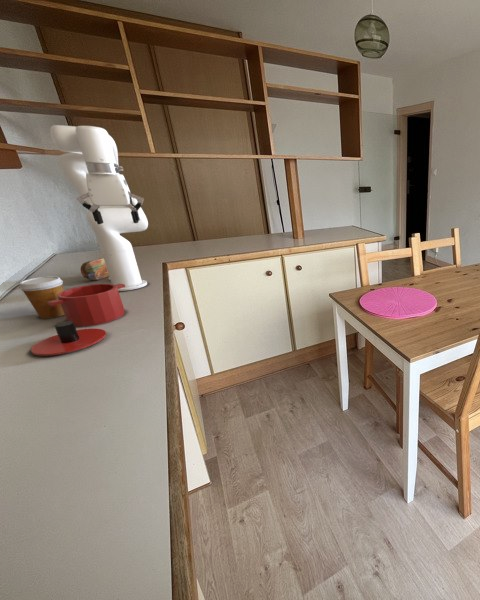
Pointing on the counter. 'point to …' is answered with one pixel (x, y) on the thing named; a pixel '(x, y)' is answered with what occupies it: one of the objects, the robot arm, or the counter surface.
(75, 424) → the counter surface
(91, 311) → the pot
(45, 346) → the pot lid
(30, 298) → the disposable coffee cup
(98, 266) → the tin
